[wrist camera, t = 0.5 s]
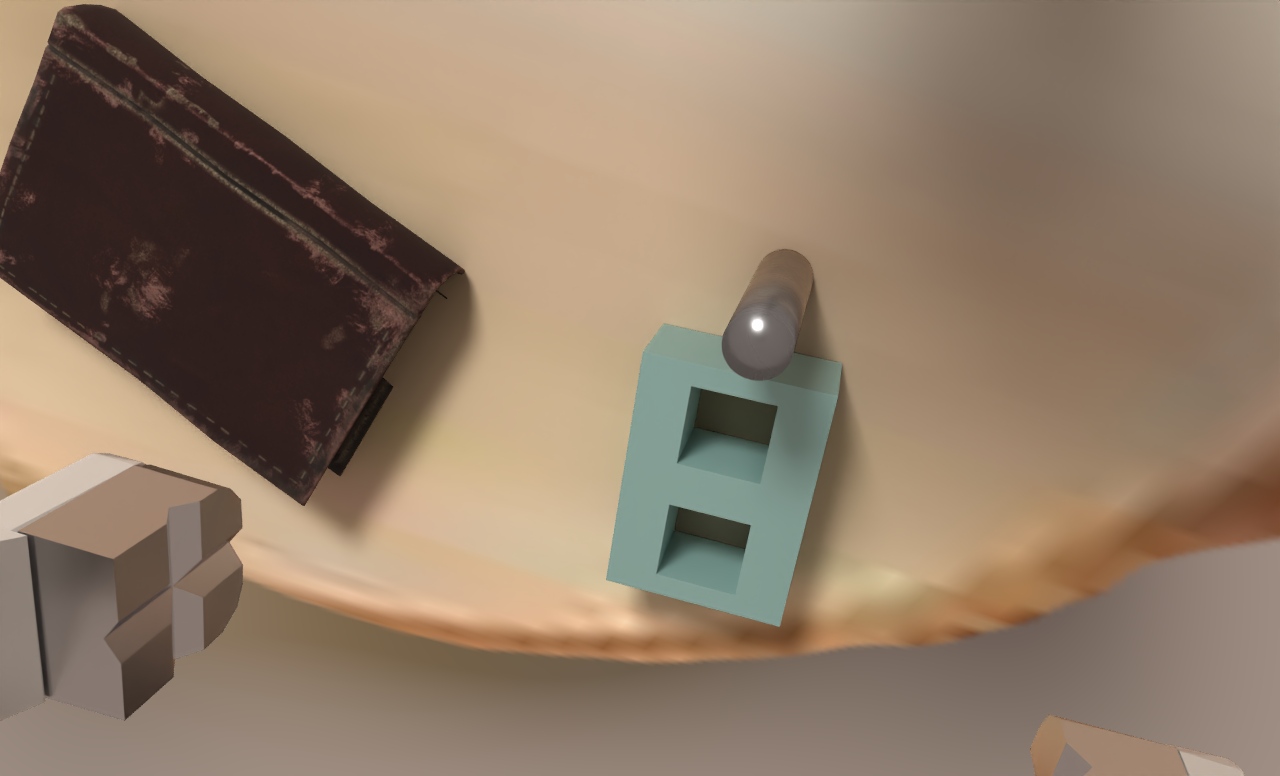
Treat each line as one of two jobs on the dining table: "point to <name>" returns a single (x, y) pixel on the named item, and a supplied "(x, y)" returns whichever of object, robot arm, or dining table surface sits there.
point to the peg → (769, 317)
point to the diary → (206, 251)
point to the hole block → (719, 477)
